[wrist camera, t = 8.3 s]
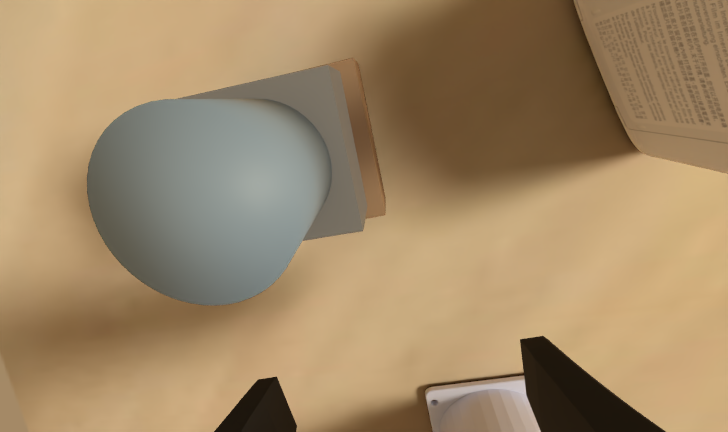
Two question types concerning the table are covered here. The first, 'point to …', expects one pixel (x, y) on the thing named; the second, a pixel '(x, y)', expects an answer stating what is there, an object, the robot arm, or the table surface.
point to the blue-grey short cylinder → (208, 194)
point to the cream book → (665, 74)
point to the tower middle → (331, 118)
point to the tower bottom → (362, 136)
